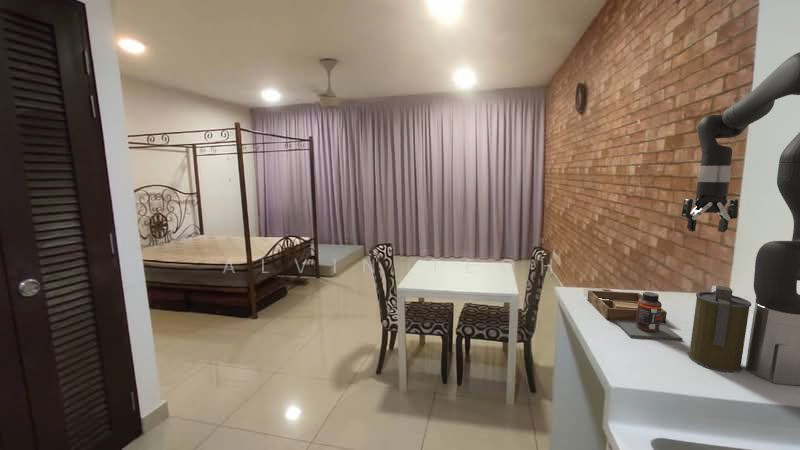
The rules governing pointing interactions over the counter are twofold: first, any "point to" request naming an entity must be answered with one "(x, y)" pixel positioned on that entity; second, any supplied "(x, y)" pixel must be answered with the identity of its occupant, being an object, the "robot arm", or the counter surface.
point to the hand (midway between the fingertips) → (706, 231)
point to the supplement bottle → (649, 312)
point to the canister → (719, 330)
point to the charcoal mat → (635, 332)
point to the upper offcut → (624, 305)
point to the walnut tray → (615, 312)
